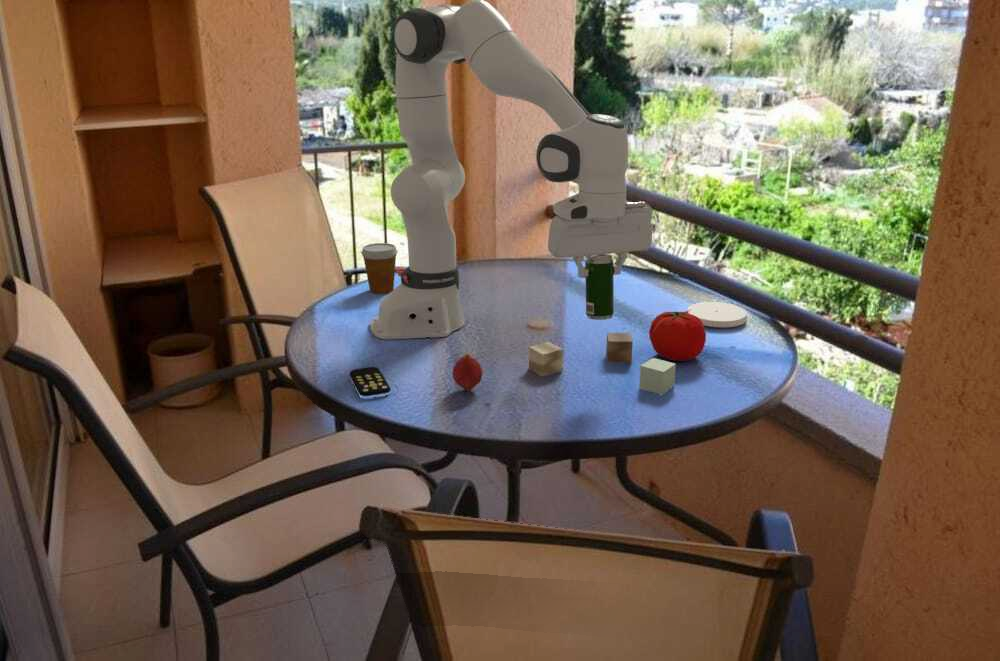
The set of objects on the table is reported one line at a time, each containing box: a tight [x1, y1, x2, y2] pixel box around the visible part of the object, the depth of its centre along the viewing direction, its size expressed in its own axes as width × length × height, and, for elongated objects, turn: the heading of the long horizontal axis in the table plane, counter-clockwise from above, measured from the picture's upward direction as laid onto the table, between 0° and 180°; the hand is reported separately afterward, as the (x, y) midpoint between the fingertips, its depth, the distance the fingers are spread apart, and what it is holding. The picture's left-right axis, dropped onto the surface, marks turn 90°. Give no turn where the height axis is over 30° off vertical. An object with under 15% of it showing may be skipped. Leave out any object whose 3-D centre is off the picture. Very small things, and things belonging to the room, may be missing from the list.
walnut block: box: [605, 332, 633, 364], centre depth 179 cm, size 5×5×5 cm
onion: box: [452, 352, 483, 392], centre depth 164 cm, size 6×6×8 cm
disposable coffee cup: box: [360, 242, 398, 295], centre depth 224 cm, size 10×10×12 cm
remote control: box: [349, 366, 392, 396], centre depth 168 cm, size 6×13×2 cm, turn 20°
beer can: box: [584, 254, 615, 321], centre depth 162 cm, size 5×5×12 cm
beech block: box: [528, 341, 564, 377], centre depth 174 cm, size 5×5×5 cm
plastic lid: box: [686, 301, 748, 328], centre depth 202 cm, size 14×14×2 cm
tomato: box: [648, 309, 707, 362], centre depth 179 cm, size 12×12×10 cm
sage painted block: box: [638, 357, 677, 395], centre depth 165 cm, size 5×5×5 cm
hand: (599, 275), depth 162 cm, fingers closed on beer can, 5 cm apart
